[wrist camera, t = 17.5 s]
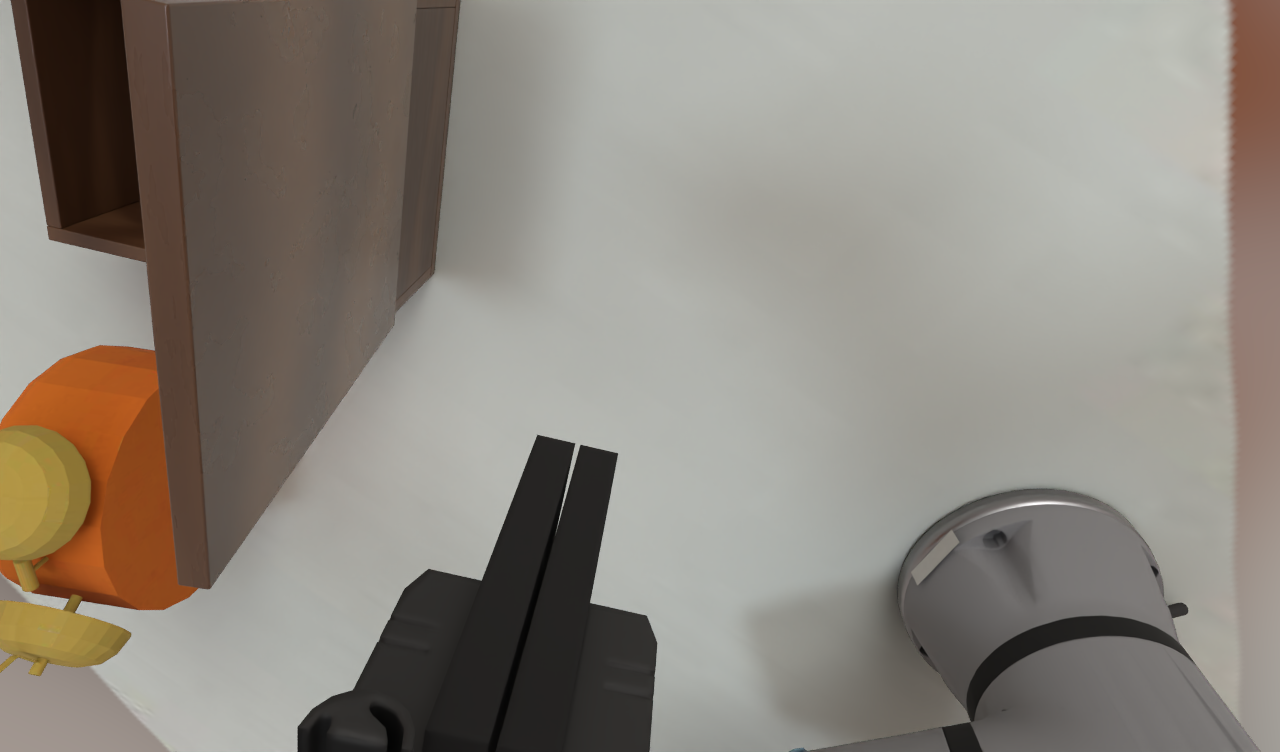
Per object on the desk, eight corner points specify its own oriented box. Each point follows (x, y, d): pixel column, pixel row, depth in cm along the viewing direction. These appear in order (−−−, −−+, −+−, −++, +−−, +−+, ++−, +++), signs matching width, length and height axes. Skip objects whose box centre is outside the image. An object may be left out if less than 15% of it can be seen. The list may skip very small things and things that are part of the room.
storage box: (144, 204, 41) (48, 240, 35) (115, -96, 34) (-9, -116, 28) (434, 273, 41) (389, 319, 35) (461, -9, 35) (411, -11, 29)
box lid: (176, 586, 20) (210, 590, 20) (118, -8, 13) (167, 4, 13) (376, 321, 35) (394, 325, 35) (396, -14, 28) (418, -8, 28)
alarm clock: (162, 296, 43) (-215, 503, 26) (264, 312, 43) (-42, 530, 26) (195, 479, 49) (-91, 749, 32) (285, 493, 49) (49, 771, 32)
